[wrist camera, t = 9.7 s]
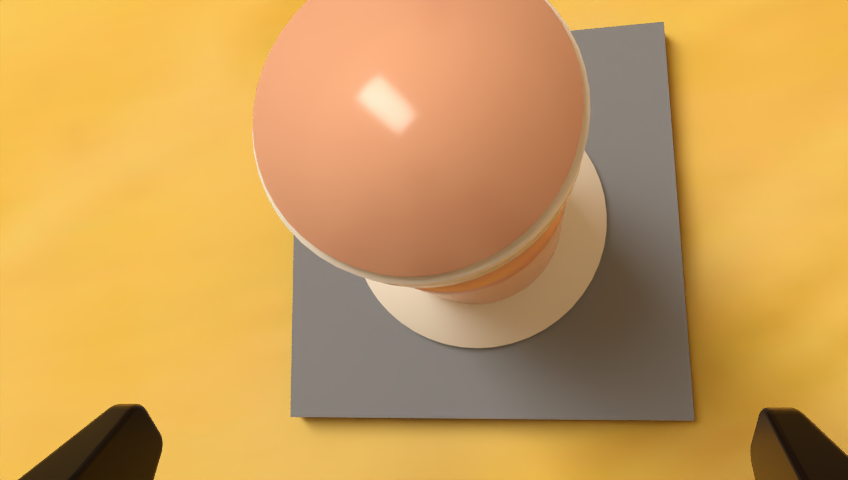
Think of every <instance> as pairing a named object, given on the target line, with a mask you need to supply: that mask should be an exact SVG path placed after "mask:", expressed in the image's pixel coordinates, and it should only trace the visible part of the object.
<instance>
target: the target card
mask: <svg viewBox="0 0 848 480" xmlns="http://www.w3.org/2000/svg"><path fill="white" fill-rule="evenodd" d="M571 33H572V35H573V37H574V39H575V41H576V43H577V45H578V47H579V50H580V53H581V56H582V59H583V62H584V65H585V68H586V73H587V79H588V84H589V89H590V122H589V132H588V138H587V142H586V146H585V150H584V154H583V158H582V162H581V167H580V171H579V174H578V176H577V179H576V181H575V184H574V187H573V189H572V192H571V194H570V195H569V197H568V199H567V203H566V208H565V212H564V217H563V222H562V227H561V232H560V236H559V240H558V244H557V247H556V249H555V252H554V255H553V257H552V258H551V260H550V262H549V264H548V265H547V267H546V268H545V269H544V271H543V272H542V273H541V275H540V276H539V277H538V278H537V279H536V280H535V281H534V282H533V283H531V284H530V285H529V286H528V287H526V288H525V289H524V290H522V291H520V292H519V293H517V294H515V295H513V296H511V297H509V298H506V299H504V300H501V301H497V302H494V303H487V304H462V303H457V302H453V301H449V300H446V299H443V298H440V297H438V296H435V295H432V294H429V293H426V292H423V291H421V290H418V289H415V288H409V287H401V286H393V285H388V284H385V283H381V282H377V281H373V280H370V279H367V278H363V277H360V276H357V275H355V274H352V273H350V272H347V271H345V270H342V269H340V268H338V267H336V266H334V265H332V264H331V263H329V262H327V261H326V260H324V259H322V258H320V257H319V256H317V255H316V254H315V253H314V252H312V251H311V250H310V249H309V248H307V247H306V246H305V245H304V244H302V243H301V242H300V241H299V240H298V239H297V238H296V237H295V235H294V260H293V313H292V367H291V417H350V418H456V419H562V420H668V421H695V418H694V405H693V392H692V380H691V367H690V354H689V341H688V328H687V315H686V303H685V290H684V277H683V264H682V251H681V238H680V226H679V213H678V200H677V187H676V174H675V161H674V149H673V136H672V123H671V110H670V97H669V84H668V72H667V59H666V46H665V33H664V22H657V23H647V24H637V25H626V26H616V27H606V28H595V29H585V30H574V31H571Z"/></svg>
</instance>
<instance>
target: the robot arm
mask: <svg viewBox="0 0 848 480" xmlns="http://www.w3.org/2000/svg"><path fill="white" fill-rule="evenodd" d="M162 445H163V444H162V437H161V434H160V432H159V431H158V429H157V427H156V426H155V424H154V422H153V421H152V419H151V417H150V416H149V414H148V412H147V411H146V409H145V408H144V407H143V406H141V405H140V404H117V405H114V406H112V407H110V408H109V409H108V410H106V411H105V412H104V413H103V414H101V415H100V416H99V417H97V418H96V419H95V420H94V421H92V422H91V423H90V424H88V425H87V426H86V427H85V428H83V429H82V430H81V431H80V432H78V433H77V434H76V435H74V436H73V437H72V438H71V439H69V440H68V441H67V442H66V443H64V444H63V445H62V446H60V447H59V448H58V449H57V450H55V451H54V452H53V453H52V454H50V455H49V456H48V457H46V458H45V459H44V460H43V461H41V462H40V463H39V464H37V465H36V466H35V467H34V468H32V469H31V470H30V471H29V472H27V473H26V474H25V475H23V476H22V477H21V478H20V479H18V480H154V476H155V473H156V470H157V466H158V463H159V459H160V456H161V452H162ZM751 462H752V467H753V471H754V476H755V480H848V455H846V454H845V453H844V452H843V451H842V450H841V449H840V448H839V447H838V446H837V445H836V444H835V443H834V442H833V441H832V440H831V439H829V438H828V437H827V436H826V435H825V434H824V433H823V432H822V431H821V430H820V429H819V428H818V427H817V426H816V425H815V424H814V423H813V422H811V421H810V420H809V419H808V418H807V417H806V416H805V415H804V414H803V413H802V412H800V411H799V410H797V409H794V408H764V409H763V410H762V411H761V412H760V414H759V417H758V421H757V425H756V429H755V432H754V436H753V440H752V443H751Z"/></svg>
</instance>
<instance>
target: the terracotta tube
mask: <svg viewBox="0 0 848 480" xmlns="http://www.w3.org/2000/svg"><path fill="white" fill-rule="evenodd" d="M589 122H590V89H589V84H588V79H587V73H586V68H585V65H584V62H583V59H582V56H581V53H580V50H579V47H578V45H577V43H576V41H575V39H574V37H573V35H572V33H571V31H570V29H569V27H568V26H567V25H566V23H565V22H564V20H563V19H562V17H561V16H560V15H559V13H558V12H557V10H556V9H555V8H554V7H553V6H552V5H551V4H550V3H549V2H548V1H547V0H308V1H307V2H306V3H305V4H304V5H303V6H302V7H301V8H300V9H299V10H298V11H297V12H296V13H295V14H294V15H293V17H292V18H291V19H290V21H289V22H288V23H287V25H286V26H285V27H284V29H283V30H282V31H281V33H280V35H279V36H278V38H277V40H276V42H275V43H274V45H273V47H272V48H271V50H270V53H269V55H268V57H267V60H266V62H265V64H264V66H263V69H262V72H261V76H260V79H259V82H258V86H257V90H256V96H255V102H254V108H253V131H252V134H253V146H254V155H255V160H256V164H257V169H258V173H259V176H260V179H261V182H262V184H263V187H264V190H265V193H266V195H267V196H268V198H269V200H270V202H271V204H272V206H273V208H274V210H275V211H276V213H277V214H278V216H279V217H280V218H281V220H282V221H283V223H284V224H285V225H286V227H287V228H288V229H289V230H290V231H291V232H292V233H293V234H294V235H295V237H296V238H297V239H298V240H299V241H300V242H301V243H302V244H304V245H305V246H306V247H307V248H309V249H310V250H311V251H312V252H314V253H315V254H316V255H317V256H319V257H320V258H322V259H324V260H326V261H327V262H329V263H331V264H332V265H334V266H336V267H338V268H340V269H342V270H345V271H347V272H350V273H352V274H355V275H357V276H360V277H363V278H367V279H370V280H373V281H377V282H381V283H385V284H388V285H393V286H401V287H409V288H415V289H418V290H421V291H423V292H426V293H429V294H432V295H435V296H438V297H440V298H443V299H446V300H449V301H453V302H457V303H462V304H487V303H494V302H497V301H501V300H504V299H506V298H509V297H511V296H513V295H515V294H517V293H519V292H520V291H522V290H524V289H525V288H526V287H528V286H529V285H530V284H531V283H533V282H534V281H535V280H536V279H537V278H538V277H539V276H540V275H541V273H542V272H543V271H544V269H545V268H546V267H547V265H548V264H549V262H550V260H551V258H552V257H553V255H554V252H555V249H556V247H557V244H558V240H559V236H560V232H561V227H562V222H563V217H564V212H565V208H566V203H567V199H568V197H569V195H570V194H571V192H572V189H573V187H574V184H575V181H576V179H577V176H578V174H579V171H580V167H581V162H582V158H583V154H584V150H585V146H586V142H587V138H588V132H589Z"/></svg>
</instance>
